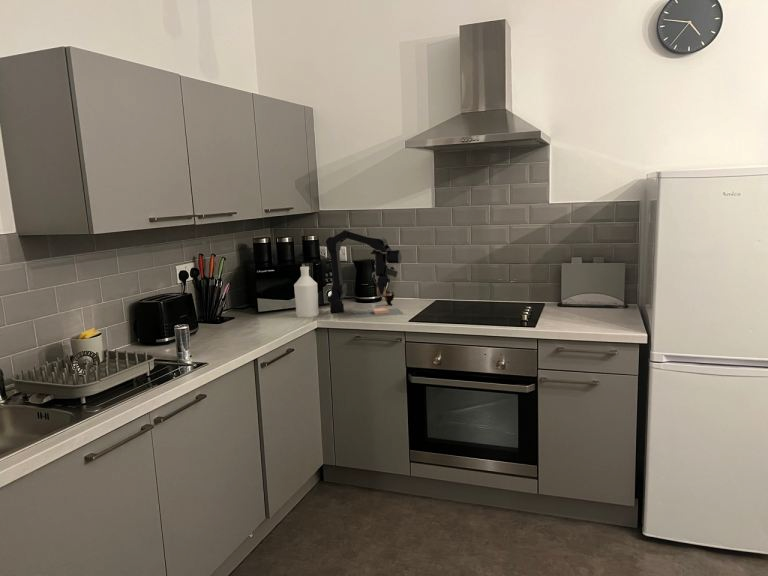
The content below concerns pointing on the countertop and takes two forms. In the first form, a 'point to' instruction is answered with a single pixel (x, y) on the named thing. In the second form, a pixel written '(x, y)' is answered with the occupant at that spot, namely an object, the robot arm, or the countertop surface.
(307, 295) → the bottle
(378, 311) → the tile
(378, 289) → the cube
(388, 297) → the figurine
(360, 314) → the mat
